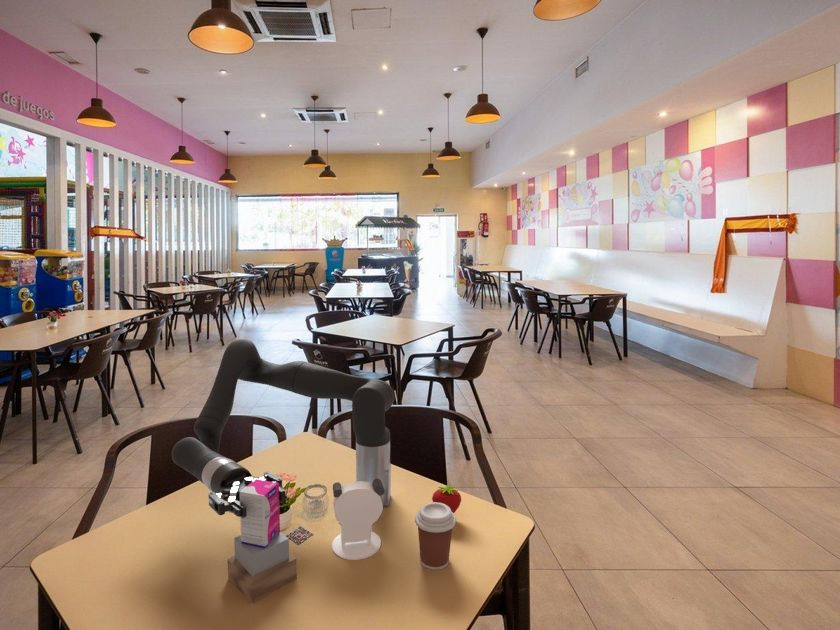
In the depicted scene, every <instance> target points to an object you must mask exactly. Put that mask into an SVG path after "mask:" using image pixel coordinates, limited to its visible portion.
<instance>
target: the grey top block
mask: <svg viewBox="0 0 840 630" xmlns="http://www.w3.org/2000/svg"><path fill="white" fill-rule="evenodd" d="M233 539H234V540H233V541H234V542H233V543H234V556H235V558H236V559H237V560H238V562H239V563H240V564H241V565H242V566H243V567H244V568H245V569H246V570H247V571H248V572H249V573H250V575H251V576H252V577H253V576H255V575H257V574H259V573H261V572H263V571H265V570H267V569H269V568H271V567H273V566H275V565H277V564H279V563H281V562H284V561H286V560H288V559H289V553H290V542H289V541H290V540H289V538H288V537H287V536H286V535H285V534H284V533H283V532H281V531H280V533H279V534H278V535H277V536H276V537H275V538H274V539H273V540H272V541H271V542H270V543H269V544H268V545H267V547H266V548H260V547H255V546H250V545H244V544H241V534H240V535H238V536H235V537H234V538H233Z"/></svg>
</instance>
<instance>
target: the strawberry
mask: <svg viewBox="0 0 840 630" xmlns="http://www.w3.org/2000/svg"><path fill="white" fill-rule="evenodd" d="M447 483H448V484H446V486H445V487H443V486H438V487H437V489H436V491H434V492H433V493H432V496H431V497H432V498H431V500H432V502H438V503H443V504H445V505H447V506H448V507H450V509H451V512H453V513H454V514H455V513H456V511H457V510H458V509H459V508H460V505H461V502H462V496H461V493H460V492H459V490H457V489H455V487H454V486H450V483H449V481H447Z"/></svg>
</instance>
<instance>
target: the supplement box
mask: <svg viewBox="0 0 840 630" xmlns="http://www.w3.org/2000/svg"><path fill="white" fill-rule="evenodd" d="M239 493H240V503H241V504H243V505H244V506H245V507H246V511H247V516H246V517H244V518H242V517H239V518H240V535H241V544H244V545H250V546H255V547H260V548H266V547H267V545H268V544H269V543H270V542H271V541H272V540H273V539H274V538H275V537H276V536H277V535H278V534H279V533H280V532H281V520H280V519H281V516H280V512H281V511H280V501H279V483H276V482H270V481H264V480H259V479H255V480H254V481H253V482H252V483H250V484H249V485H248V486H247V487H245V488H244V489H243V490H241V491H240V492H239Z"/></svg>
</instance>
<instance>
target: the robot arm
mask: <svg viewBox="0 0 840 630" xmlns="http://www.w3.org/2000/svg"><path fill="white" fill-rule="evenodd" d="M238 380H241V381H245V382H249V383H256V384H260V385H267V386H270V387H273V388H276V389H281V390H284V391H288V392H291V393H294V394H297V395H300V396H304V397H307V398H312V399H322V400H323V399H324V400H325V399H326V400H329V399H330V400H331V399H337V400H347V401H351V402H352V403H351V410H352V411H351V412H352V413H351V414H352V429H353V433H354V435H355V451H356V452H355V482H356V481H364V482H369V483H371V484H372V482H373V480H375V479H380V480H381V481H382V484H383V487H384V491H385V492H384V494H383V495H381V496H380V498H381V501H382V504H383V507H387V506H389V505H390V500H391V495H392V494H391V492H392V491H391V490H392V489H391V486H392V484H391V483H392V482H391V481H392V478H391V477H392V474H391V473H392V470H391V469H392V464H391V431H390V429H389V428H388V427H386V412H387V411H388V410H389V409H390V408H391V407H392V406H393V404H394V402H395V399H396V394H395V391H394V389H393V387H392V386H391V385H390V384H389V383H388V382H386V381H384V380H381V379H377V378H371V377H364V376H357V375H355V374H354V375H353V374H348V373H345V372H342V371H339V370H335V369H332V368H328V367H326V366H322V365H318V364H315V363H311V362H307V361H303V360H295V361H289V362H287V363H283V364H277V363H274V362H270V361H267V360H266V359H263V358H262V357H261V355H260V352H259V351H258V349H257V346H256V345H255V343H254V342H253V341H251V339H247V338H239V339H236V340H234V341H232V342H231V343H230V344H228V345H227V347H225V349H224V353H223V355H222V358H221V361H220V364H219V368H218V370H217V373H216V376H215V379H214V382H213V385H212V388H211V390H210V393H209V395H208V398H207V399H206V401H205V403H204V405H203V407H202V409H201V412H200V413H199V415H198V416H197V419H196V420H195V422H194V425H193V431H194V433H195V435H196V436H197V437H198V439H197V438H195V437H193V436H187V437H183V438H182V439H179V441H177V442H176V443H175V444H174V445H173V447H172V450H171V458H172V461H173V463H174V464H175V465H177V466H179V467H180V468H182V469H183V470H184V471H186V472H188V473H189V474H191V475H192V476H194V477H195V478H196V479H197V480H198V481H199V482H200V483H202V484H203V485H204V486H205V487H206V488H207V489H208V490H209V491H211V492H208V495H207V496H208V506H209V507H210V508H211V509H212V510H213V511H214V512H215V513H216V514H217V515H218V516H223V515H225V514H226V513H230V514H233V515H235V516H236V517H237V518H240V517H242V518H244V517H246V516H247V511H246V507H245V506H244V505H243V504H241V503H240V493H239V492H240V491H241V490H243V489H244V488H245V487H247V486H248V485H249V484H250V483H252V482H253V481H254V480H255V479H259V480H264V481H270V482H276V483H279V502H283V501H285V499H286V490H285V489H284V488H283V478H282V477H279V475H276V474H274V473H272V472H269V471H264V472H263V476H261V477H259V478H258V477H257V476H253V475H252V474H251V472H250V471H249V470H248V469H247V468H246V467H244V466H242V465H241V464H239V463H237V462H236V461H234V460H233V459H230V458H227V457H226V456H224V455H222V454H220V453H219V451H220V446H221V438H222V433H223V431H224V429H225V427H226V425H227V422H228V421H229V419H230V416H231V413H232V410H233V405H234V403H235V402H234V400H235V395H236V388H237V385H238V384H237V383H238ZM372 485H373V484H372Z"/></svg>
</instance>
